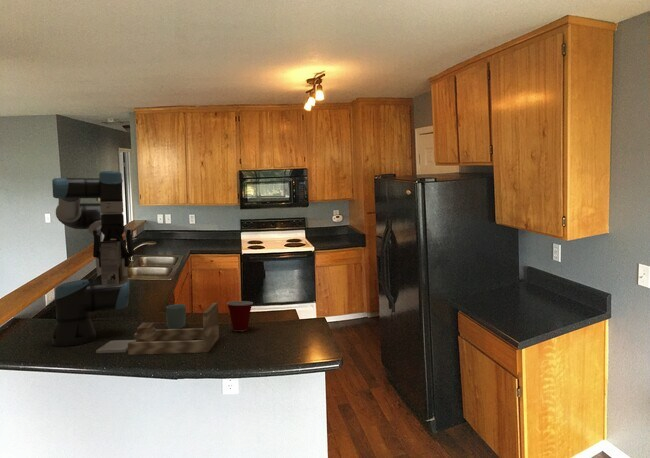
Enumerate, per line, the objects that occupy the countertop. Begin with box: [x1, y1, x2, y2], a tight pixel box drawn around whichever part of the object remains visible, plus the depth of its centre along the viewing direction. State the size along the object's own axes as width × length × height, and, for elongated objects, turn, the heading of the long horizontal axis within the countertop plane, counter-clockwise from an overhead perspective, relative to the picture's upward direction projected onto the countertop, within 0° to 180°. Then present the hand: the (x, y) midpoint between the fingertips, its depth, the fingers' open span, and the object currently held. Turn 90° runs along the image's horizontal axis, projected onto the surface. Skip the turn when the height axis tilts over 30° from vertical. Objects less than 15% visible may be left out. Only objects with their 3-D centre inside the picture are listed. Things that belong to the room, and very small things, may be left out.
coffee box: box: [100, 239, 129, 286], centre depth 165 cm, size 9×6×16 cm
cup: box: [165, 303, 187, 329], centre depth 190 cm, size 8×8×10 cm
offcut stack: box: [133, 321, 158, 342], centre depth 166 cm, size 5×10×8 cm, turn 2°
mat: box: [95, 339, 136, 354], centre depth 166 cm, size 10×12×1 cm
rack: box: [127, 302, 220, 356], centre depth 167 cm, size 28×18×14 cm, turn 92°
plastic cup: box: [226, 300, 254, 331], centre depth 186 cm, size 11×11×12 cm
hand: (114, 276), depth 165 cm, fingers closed on coffee box, 7 cm apart
